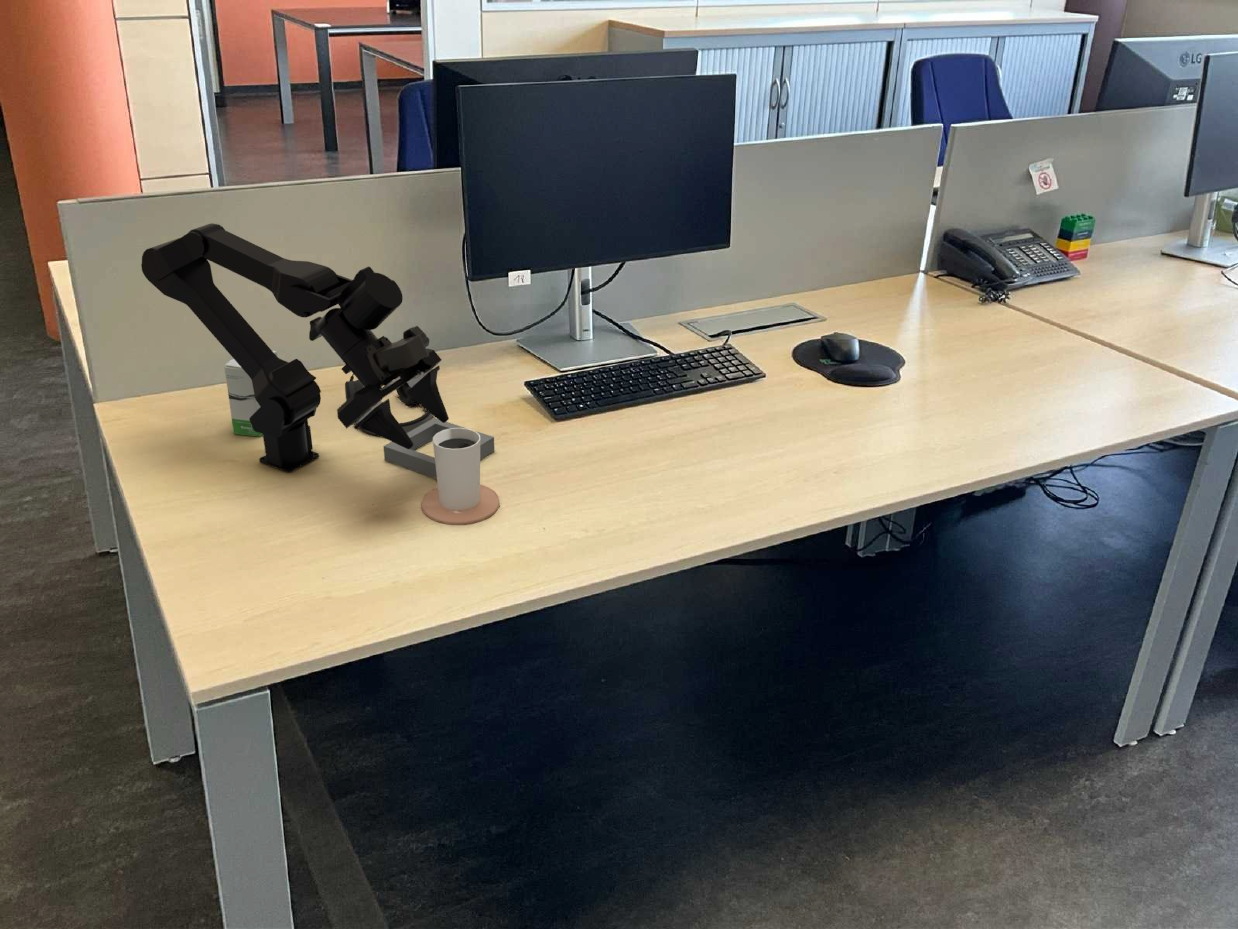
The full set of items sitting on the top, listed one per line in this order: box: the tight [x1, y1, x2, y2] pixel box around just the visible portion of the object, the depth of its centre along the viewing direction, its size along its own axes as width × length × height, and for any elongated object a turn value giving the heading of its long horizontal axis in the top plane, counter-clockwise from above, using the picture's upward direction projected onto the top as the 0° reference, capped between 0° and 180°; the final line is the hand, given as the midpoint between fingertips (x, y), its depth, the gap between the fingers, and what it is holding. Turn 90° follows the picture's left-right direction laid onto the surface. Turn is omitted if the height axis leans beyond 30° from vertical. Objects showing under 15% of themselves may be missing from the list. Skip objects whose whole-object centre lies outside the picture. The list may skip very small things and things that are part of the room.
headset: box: [344, 373, 434, 438], centre depth 180 cm, size 13×9×19 cm
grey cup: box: [432, 427, 481, 511], centre depth 153 cm, size 7×7×10 cm
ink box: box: [224, 350, 278, 437], centre depth 174 cm, size 9×5×12 cm, turn 168°
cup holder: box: [383, 417, 495, 480], centre depth 168 cm, size 12×12×2 cm
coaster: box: [421, 483, 500, 526], centre depth 156 cm, size 11×11×1 cm
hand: (429, 433), depth 153 cm, fingers open, 9 cm apart
